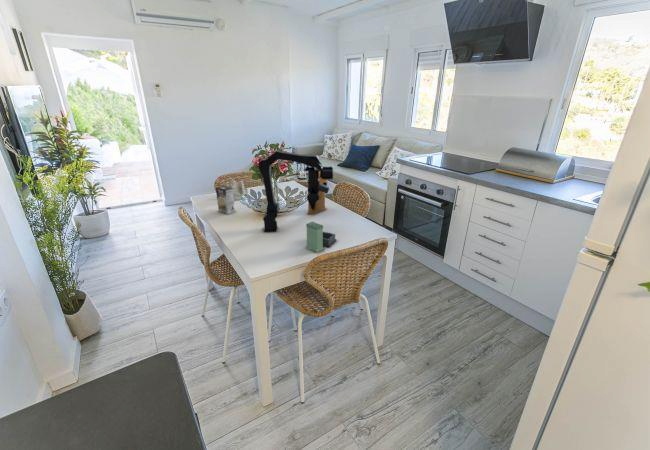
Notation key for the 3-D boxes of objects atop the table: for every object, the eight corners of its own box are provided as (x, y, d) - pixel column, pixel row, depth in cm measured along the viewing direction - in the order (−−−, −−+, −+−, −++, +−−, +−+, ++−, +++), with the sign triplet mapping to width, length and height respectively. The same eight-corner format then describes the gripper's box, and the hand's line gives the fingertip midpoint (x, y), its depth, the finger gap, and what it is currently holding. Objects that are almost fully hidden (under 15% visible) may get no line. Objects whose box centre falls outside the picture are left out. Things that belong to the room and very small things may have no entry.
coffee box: (218, 211, 201) (214, 187, 195) (225, 208, 206) (223, 185, 200) (228, 214, 197) (225, 189, 190) (235, 211, 202) (233, 187, 195)
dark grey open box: (309, 242, 162) (308, 235, 160) (316, 236, 168) (316, 229, 167) (329, 247, 157) (329, 240, 155) (336, 241, 164) (336, 234, 162)
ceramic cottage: (251, 197, 227) (248, 177, 221) (228, 202, 219) (224, 181, 214) (244, 193, 239) (241, 173, 234) (223, 197, 232) (219, 177, 226)
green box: (306, 247, 156) (306, 223, 151) (312, 245, 159) (312, 221, 154) (317, 252, 152) (317, 228, 147) (322, 249, 155) (323, 225, 150)
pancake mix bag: (331, 209, 208) (332, 167, 196) (311, 216, 194) (311, 172, 183) (323, 206, 212) (324, 165, 200) (303, 214, 198) (303, 170, 187)
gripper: (329, 184, 156) (328, 213, 162) (327, 174, 173) (327, 201, 179) (307, 183, 156) (307, 213, 162) (307, 174, 173) (307, 201, 179)
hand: (313, 206), depth 171 cm, fingers open, 9 cm apart
